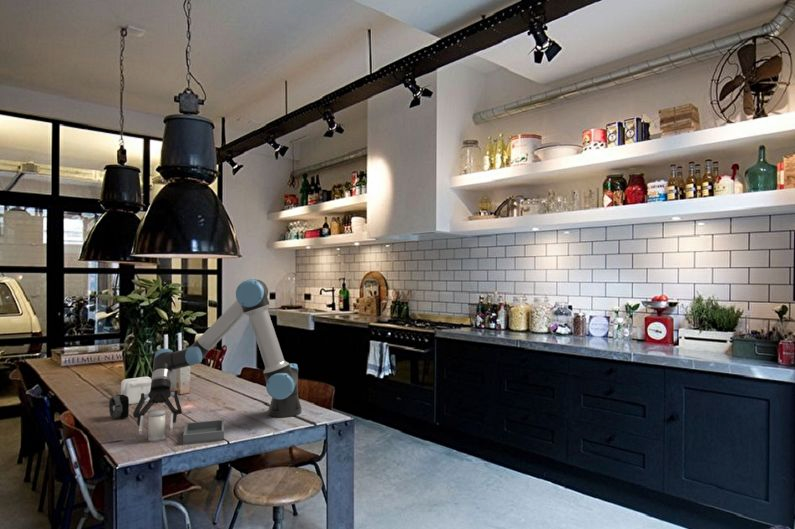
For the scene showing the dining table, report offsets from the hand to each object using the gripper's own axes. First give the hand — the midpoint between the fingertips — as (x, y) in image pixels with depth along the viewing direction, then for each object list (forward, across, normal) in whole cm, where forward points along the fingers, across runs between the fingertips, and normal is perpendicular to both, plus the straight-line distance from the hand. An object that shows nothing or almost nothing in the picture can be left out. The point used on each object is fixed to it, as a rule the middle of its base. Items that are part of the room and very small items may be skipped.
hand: (155, 431), depth 190 cm
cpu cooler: (-27, +20, -33) cm, 47 cm away
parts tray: (+2, -18, -4) cm, 18 cm away
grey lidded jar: (+1, 0, -5) cm, 5 cm away
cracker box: (-59, -2, -65) cm, 88 cm away
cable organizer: (-48, +16, -54) cm, 74 cm away
